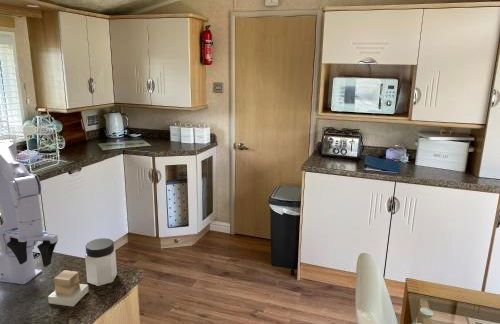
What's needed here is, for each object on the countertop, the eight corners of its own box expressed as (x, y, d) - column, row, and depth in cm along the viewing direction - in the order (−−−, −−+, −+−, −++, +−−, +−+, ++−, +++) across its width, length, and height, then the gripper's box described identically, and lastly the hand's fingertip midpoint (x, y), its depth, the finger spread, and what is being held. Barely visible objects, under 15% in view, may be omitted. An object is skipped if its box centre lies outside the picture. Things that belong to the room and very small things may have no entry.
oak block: (66, 285, 110) (64, 270, 109) (79, 287, 109) (78, 271, 108) (55, 294, 106) (53, 278, 104) (70, 296, 105) (68, 280, 104)
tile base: (48, 303, 105) (47, 296, 104) (65, 288, 112) (64, 281, 112) (73, 306, 104) (72, 299, 103) (88, 291, 111) (87, 284, 111)
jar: (90, 289, 112) (86, 252, 109) (84, 276, 119) (81, 242, 116) (120, 280, 117) (118, 245, 114) (113, 269, 124) (111, 235, 121)
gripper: (-6, 222, 100) (1, 268, 103) (43, 226, 98) (48, 273, 101) (14, 213, 107) (20, 256, 110) (60, 216, 104) (65, 260, 107)
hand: (35, 263), depth 106 cm, fingers open, 7 cm apart
